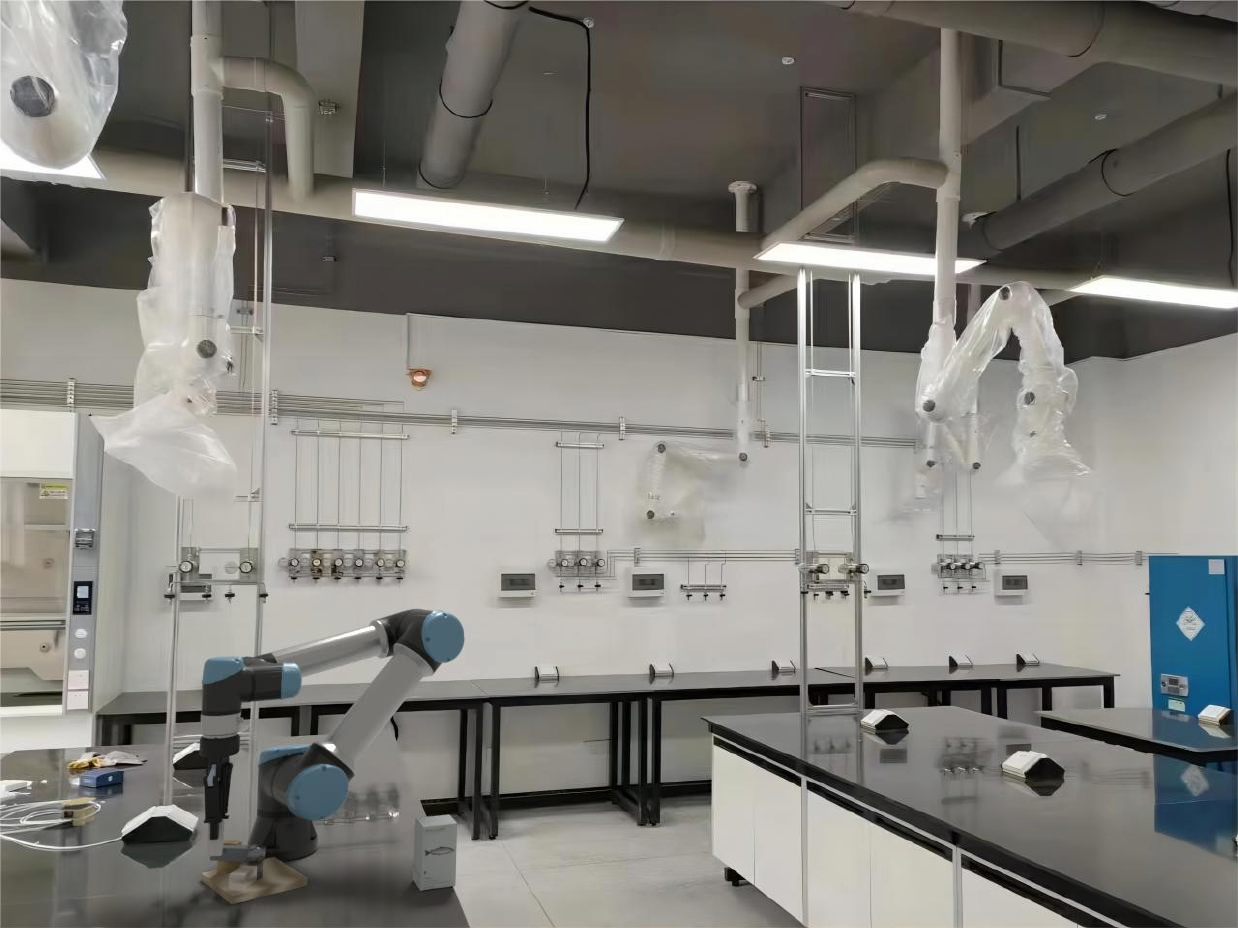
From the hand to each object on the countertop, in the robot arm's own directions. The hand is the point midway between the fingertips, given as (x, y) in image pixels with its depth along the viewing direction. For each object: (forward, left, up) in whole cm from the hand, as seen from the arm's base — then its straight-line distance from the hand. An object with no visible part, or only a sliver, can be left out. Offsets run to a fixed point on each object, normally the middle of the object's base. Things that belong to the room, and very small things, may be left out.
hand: (214, 854), depth 185 cm
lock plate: (-7, +3, -6) cm, 10 cm away
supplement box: (-35, +27, -7) cm, 44 cm away
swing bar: (-4, +1, -1) cm, 5 cm away
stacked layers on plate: (+10, -67, -7) cm, 68 cm away
